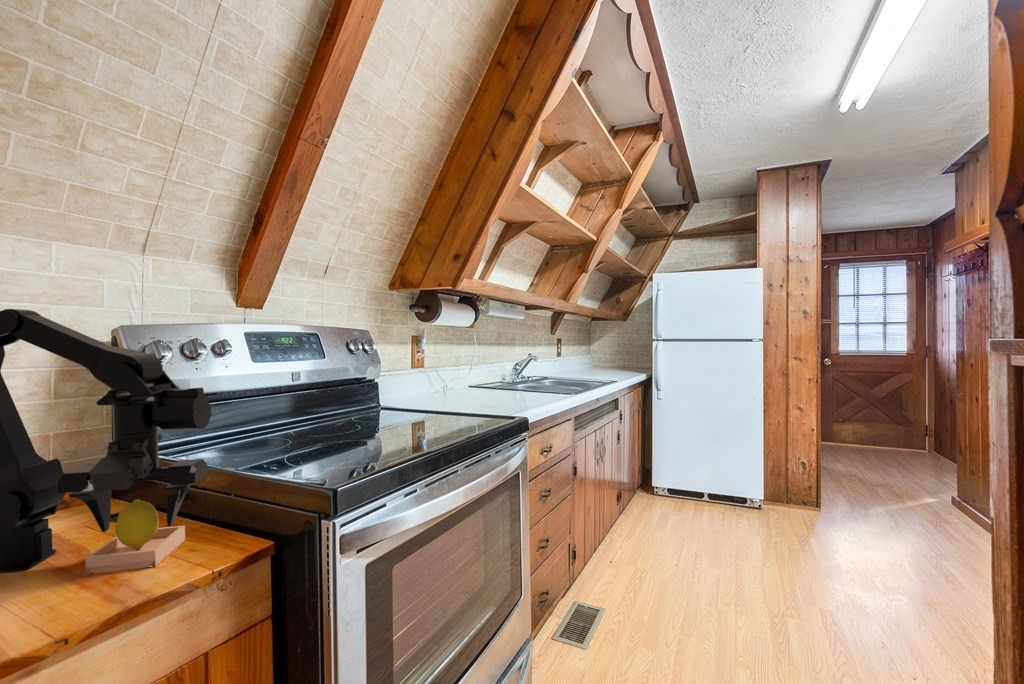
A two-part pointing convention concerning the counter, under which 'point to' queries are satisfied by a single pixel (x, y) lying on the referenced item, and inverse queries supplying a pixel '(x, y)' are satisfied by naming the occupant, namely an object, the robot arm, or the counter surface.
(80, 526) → the counter surface
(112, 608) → the counter surface
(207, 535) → the counter surface
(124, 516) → the lemon
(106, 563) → the dish
